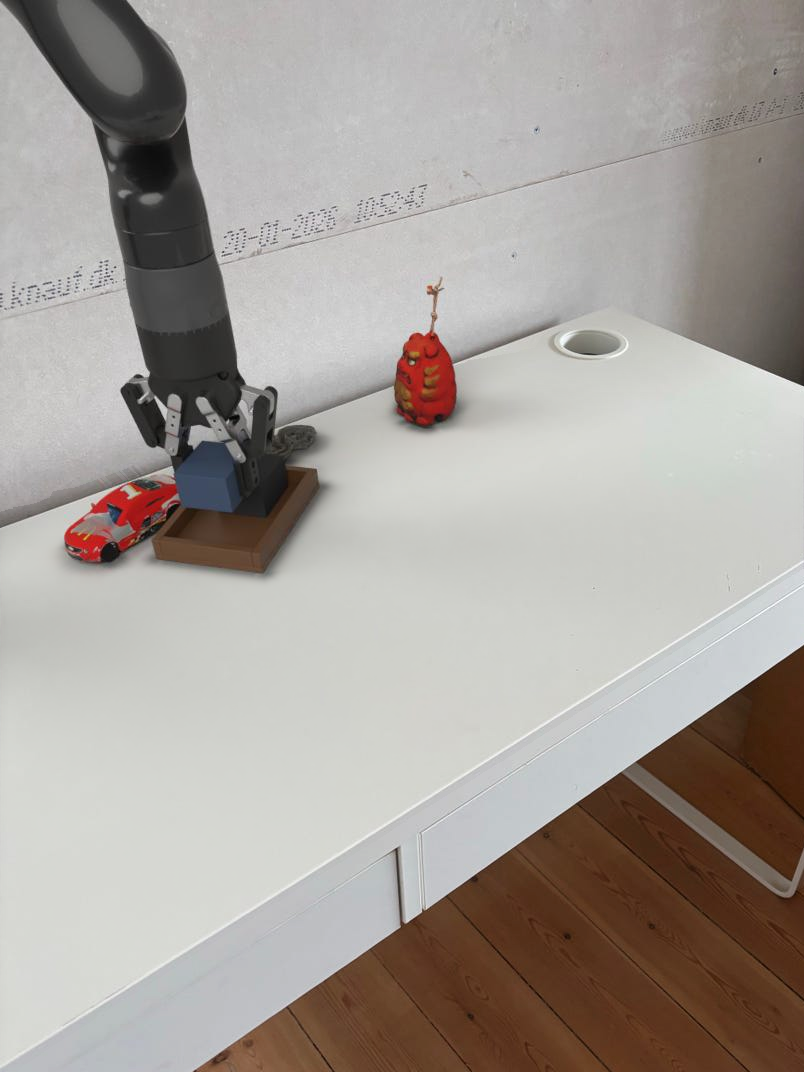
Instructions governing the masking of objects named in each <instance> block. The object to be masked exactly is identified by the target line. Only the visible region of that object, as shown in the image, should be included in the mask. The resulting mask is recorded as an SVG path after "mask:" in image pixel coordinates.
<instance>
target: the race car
mask: <svg viewBox="0 0 804 1072" xmlns="http://www.w3.org/2000/svg"><path fill="white" fill-rule="evenodd" d="M180 505H181V503H180V499H179V495H178V491H177V487H176V483H175V479H174V476H171V475H168V474H165V473H163V474H154V475H151V476H146V477H140V478H138V479H135V480H132V481H129V482H126V483H125V484H122V485H121V486H119V487H117V488H116V489H113V490H111V491H110V492H109V493H108V494H106V495H104V496H103V497H102V498H101V499H100V500H99V501H98V502H96V504H95V503H94V502H91V503H90V506H91V509H90V510H89V512H87V513H85V515H83V516H82V517H80V518H79V519H78V520H76V521H75V522H74V523H73V524H71V525H70V526H69V527H68V528H67V529H66V530H65V533H64V536H63V540H64V541H63V542H64V547H65V551H66V552H67V554H68V556H69V557H70V558H71V559H74V560H76V561H80V562H85V563H99V562H102V561H103V562H106V563H109V562H112V561H114V560H115V559H116V558H117V556H118V555H119V551H120V552H123V551H124V550H126V549H128V548H130V547H131V546H133V545H135V544H136V543H138V542H139V541H142V540H143V539H145V538H147V537H148V536H150V535H152V534H153V533H154V532H156V531H159V530H160V529H161V528H162V526H163V525H164V524H165V523H166V522H167V520H168V519H169V518H170V517H171V516H172V514H173V513H174V512H175V511H176V510H177V508H178V507H179V506H180Z"/></svg>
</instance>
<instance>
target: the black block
mask: <svg viewBox="0 0 804 1072" xmlns="http://www.w3.org/2000/svg"><path fill="white" fill-rule="evenodd" d="M256 462H257V467H258V474H259V478H260V480H259V484H258V485H257V487H256V488H255V489H254V491H253V492H252V493H251V494H250V496H249V497H244V498H243V499H242V501H241V502H240V503H239V505H238V506H237V507H236V509H235V510H234V511H233V513H231V512H222V511H219V512H222V513H230V514H238V515H247V516H255V517H263V518H267V516H268V515H269V513H270V512H271V510H272V509H273V508H274V506H275V505H276V503H277V502H278V501H279V499H280V498H281V496H282V495H283V493H284V492H285V491H286V489H287V488H288V486H289V484H288V478H287V472H286V465H287V464H286V459H284V456H281V455H272V454H265V455H264V456H263V457H262V458H261V459H256Z"/></svg>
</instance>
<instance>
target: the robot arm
mask: <svg viewBox="0 0 804 1072" xmlns="http://www.w3.org/2000/svg"><path fill="white" fill-rule="evenodd" d="M0 3H1V4H2V5H3V6H4V8H6V10H7V11H9V13H10V14H11V15H12V16H13V18H15V19H16V20H17V22H18V23H19V24H20V25H21V27H22V28H23V29H24V31H25V33H26V34H27V35H28V36H29V38H30V39H31V41H32V43H33V44H34V45H35V47H36V48H37V49H38V51H39V52H40V54H41V55H42V56H43V58H44V59H45V61H46V62H47V63H48V65H49V66H50V68H51V69H52V71H53V72H54V73H55V75H56V76H57V77H58V79H59V80H60V81H61V83H62V85H63V86H64V87H65V88H66V90H67V91H68V92H69V94H70V95H71V96H72V98H73V99H74V100H75V102H76V103H77V104H78V106H79V107H80V108H81V109H82V111H84V112H85V114H86V115H87V116H88V118H90V120H91V124H92V126H93V130H94V134H95V137H96V141H97V144H98V148H99V151H100V155H101V160H102V161H103V162H102V163H103V166H104V169H105V173H106V177H107V186H108V196H109V204H110V212H111V215H112V220H113V226H114V230H115V233H116V238H117V243H118V246H119V250H120V254H121V259H122V263H123V269H124V278H125V279H124V280H125V287H126V292H127V296H128V300H129V306H130V308H131V313H132V317H133V320H134V325H135V329H136V332H137V337H138V341H139V345H140V349H141V352H142V357H143V360H144V365H145V367H146V370H147V371H148V372H149V373H148V376H144V375H142V374H141V373H136V374H135V375H133V376H132V377H131V378H130V379H128V380H127V381H126V382H125V383H124V385H122V386H121V388H120V391H119V392H120V395H121V396H122V399H123V401H124V403H125V405H126V407H127V409H128V411H129V413H130V415H131V417H132V419H133V421H134V423H135V425H136V427H137V429H138V431H139V433H140V436H141V437H142V439H143V441H144V443H145V444H146V446H147V447H149V448H152V449H155V448H157V447H158V448H161V449H163V450H164V452H165V453H166V454H167V455H168V456H169V457H170V461H171V465H172V469H173V473H174V472H175V471H176V470H177V469H178V468H179V467H180V465H181V464H182V463H183V462H184V461H185V460H186V459H187V458H188V457H189V455H190V454H191V453H192V452H193V451H194V445H193V444H189V441H190V435H191V429H192V427H196V426H200V427H201V426H202V427H205V428H207V429H212V431H213V433H214V434H215V436H216V438H217V440H218V442H221V443H225V445H226V447H227V448H228V450H229V452H230V454H231V455H232V457H233V459H234V462H233V468H234V469H235V474H236V479H237V484H238V489H239V494H240V496H242V497H249V496H250V494H251V493H252V492H253V491H254V489H255V488H256V487H257V485H258V484H259V480H260V478H259V474H258V467H257V462H256V459H261V458H262V457H263V456H264V455H265V453H266V452H267V451H268V449H269V448H270V447H271V445H272V444H273V442H274V435H275V433H276V432H275V431H276V430H275V429H276V419H277V410H278V399H279V393H278V390H277V389H276V388H275V387H273V386H272V385H267V386H265V388H264V389H260V388H257V387H255V386H251V385H248V384H247V383H246V380H245V379H244V377H243V376H242V374H241V373H240V371H239V368H238V353H237V348H236V347H237V346H236V341H235V336H234V330H233V326H232V320H231V315H230V308H229V304H228V303H229V302H228V298H227V292H226V287H225V283H224V278H223V275H222V269H221V267H220V265H219V261H218V258H217V254H216V251H215V247H214V246H215V245H214V239H213V235H212V230H211V229H212V228H211V224H210V219H209V212H208V208H207V204H206V200H205V196H204V193H203V190H202V186H201V183H200V181H199V178H198V176H197V173H196V169H195V166H194V161H193V156H192V149H191V142H190V136H189V130H188V129H189V128H188V123H187V117H186V113H187V106H188V89H187V84H186V80H185V77H184V74H183V72H182V70H181V67H180V65H179V62H178V61H177V58H176V56H175V54H174V52H173V50H172V49H171V47H170V46H169V44H168V43H167V42H166V40H165V39H164V38H163V37H162V36H161V35H160V34H159V33H158V32H157V31H156V30H155V29H153V28H152V27H150V26H149V25H147V23H145V21H144V20H143V19H142V17H141V16H140V15H139V14H138V12H137V11H136V9H134V7H133V6H132V5H131V3H130V2H129V1H128V0H0ZM156 399H158V401H160V402H161V404H162V405H163V406H164V407H165V408H166V409H167V411H166V412H167V413H166V418H165V417H164V415H163V413H162V411H161V409H160V407H159V404H158V402H157V400H156ZM241 401H244V402H245V404H246V406H247V413H248V415H249V416H252V419H251V421H252V422H251V432H250V430H249V429H248V426H247V422H248V421H247V418H246V416H245V414H244V413H243V410H242V408H241V407H240V405H239V404H240V403H241ZM227 422H228V423H227ZM272 446H273V445H272Z"/></svg>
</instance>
